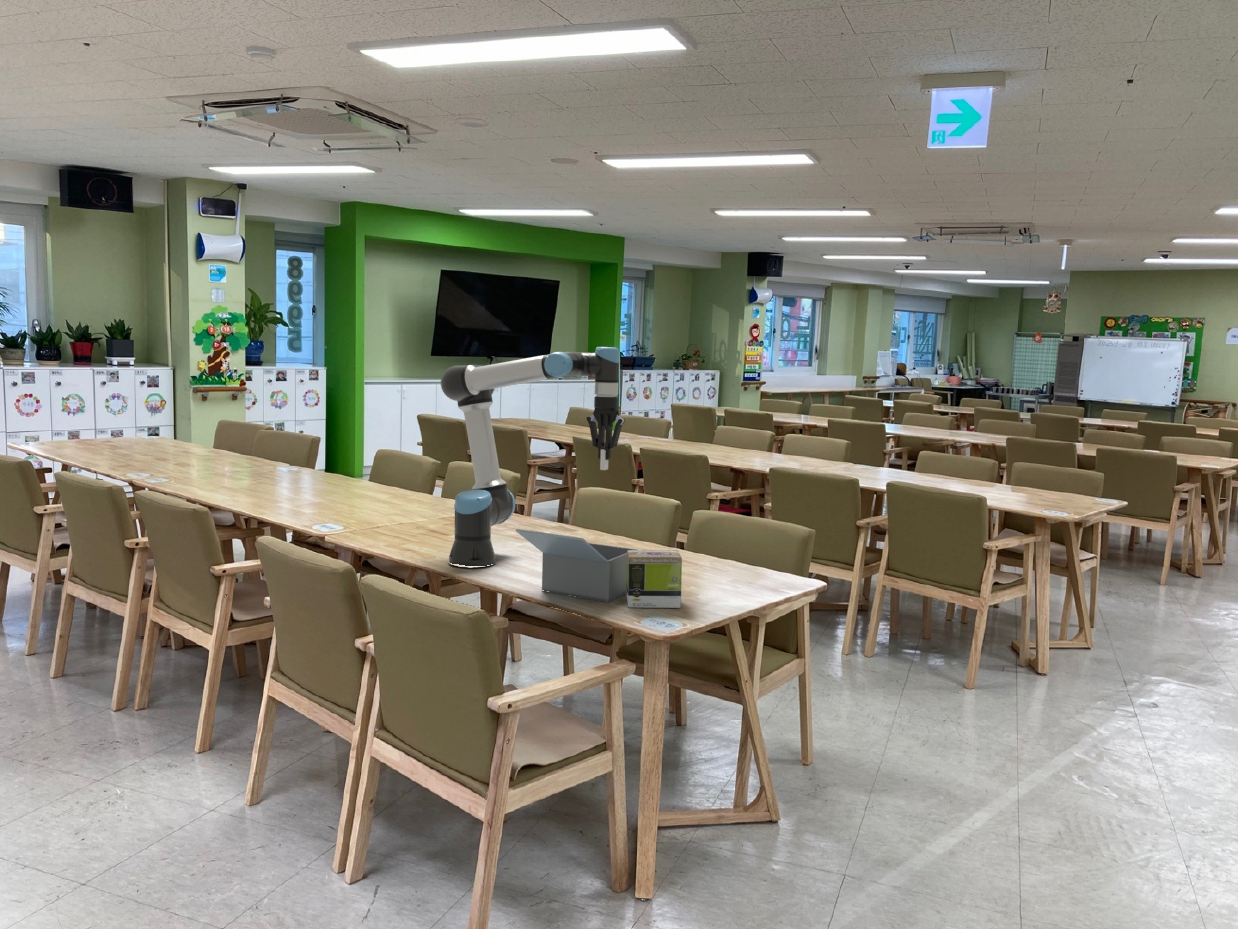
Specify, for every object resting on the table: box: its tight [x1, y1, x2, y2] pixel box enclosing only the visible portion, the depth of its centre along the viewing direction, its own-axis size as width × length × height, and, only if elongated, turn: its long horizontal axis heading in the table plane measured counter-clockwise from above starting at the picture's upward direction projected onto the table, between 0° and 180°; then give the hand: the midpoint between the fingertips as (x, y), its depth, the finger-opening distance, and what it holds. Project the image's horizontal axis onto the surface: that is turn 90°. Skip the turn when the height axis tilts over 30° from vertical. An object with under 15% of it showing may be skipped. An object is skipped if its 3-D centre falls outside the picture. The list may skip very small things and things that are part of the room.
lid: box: [515, 528, 608, 563], centre depth 264 cm, size 21×18×1 cm
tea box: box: [625, 549, 683, 609], centre depth 267 cm, size 15×10×15 cm, turn 92°
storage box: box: [541, 542, 638, 603], centre depth 280 cm, size 22×18×12 cm
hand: (604, 469), depth 304 cm, fingers closed
